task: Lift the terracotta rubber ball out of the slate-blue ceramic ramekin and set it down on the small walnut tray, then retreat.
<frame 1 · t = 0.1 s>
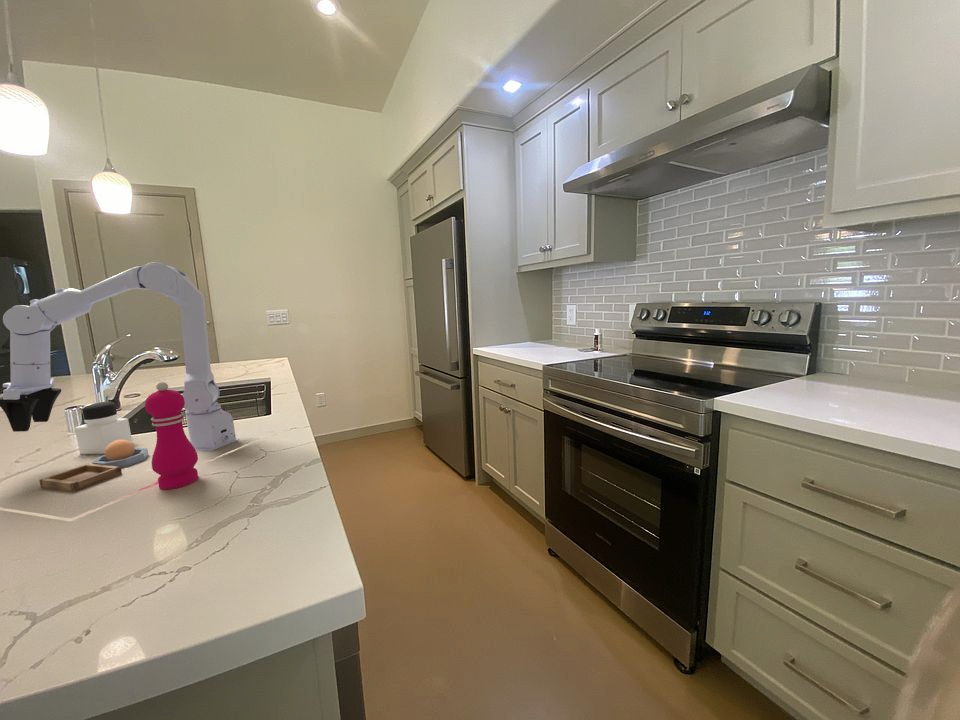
hand: (31, 426, 88), 11 cm above the counter, tool pointing down, fingers open, 7 cm apart
pepper mill: (179, 483, 80), on the counter
tray: (83, 482, 83), on the counter
ramekin: (122, 463, 92), on the counter
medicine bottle: (107, 450, 102), on the counter
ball: (122, 461, 92), resting on ramekin
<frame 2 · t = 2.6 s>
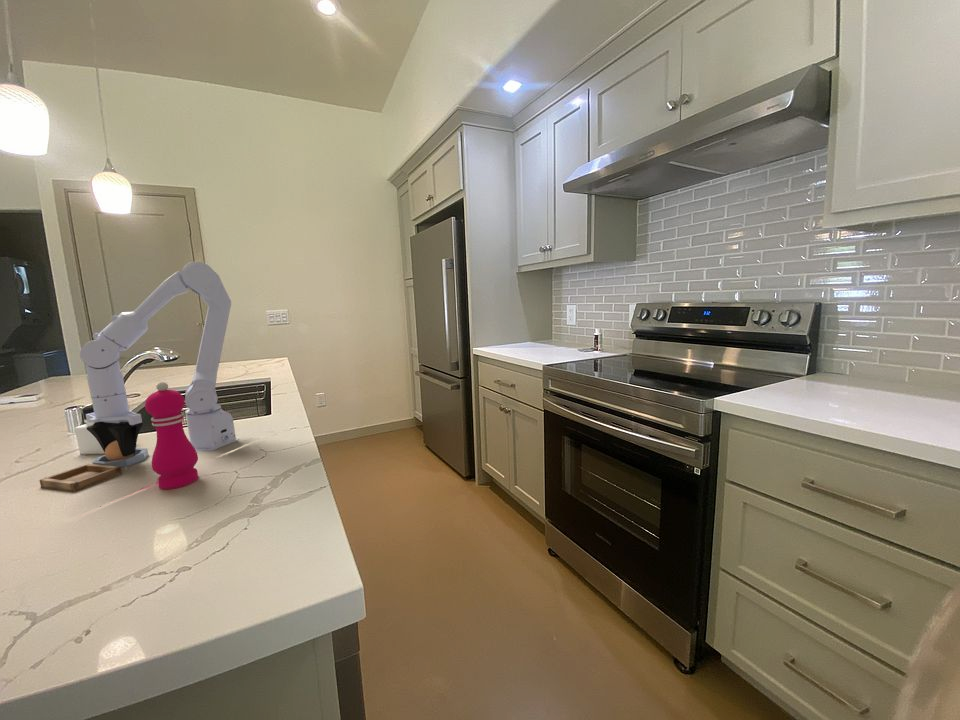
hand: (120, 453, 92), 2 cm above the counter, tool pointing down, fingers closed on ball, 5 cm apart
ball: (122, 461, 92), resting on ramekin, touching gripper
everything else where it was.
when the fingers open (3 cm above the counter, at t = 6.1 s): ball stays where it is, resting on tray.
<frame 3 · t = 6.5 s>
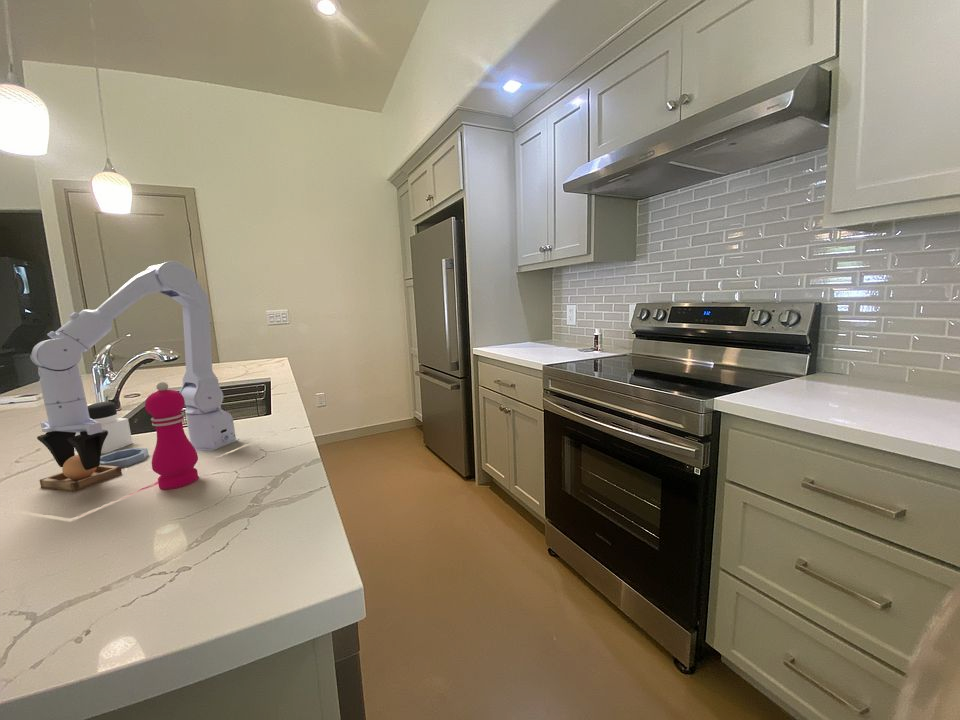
hand: (79, 466, 82), 3 cm above the counter, tool pointing down, fingers open, 7 cm apart
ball: (82, 478, 83), point 1 cm above the counter, touching tray
everything else where it was.
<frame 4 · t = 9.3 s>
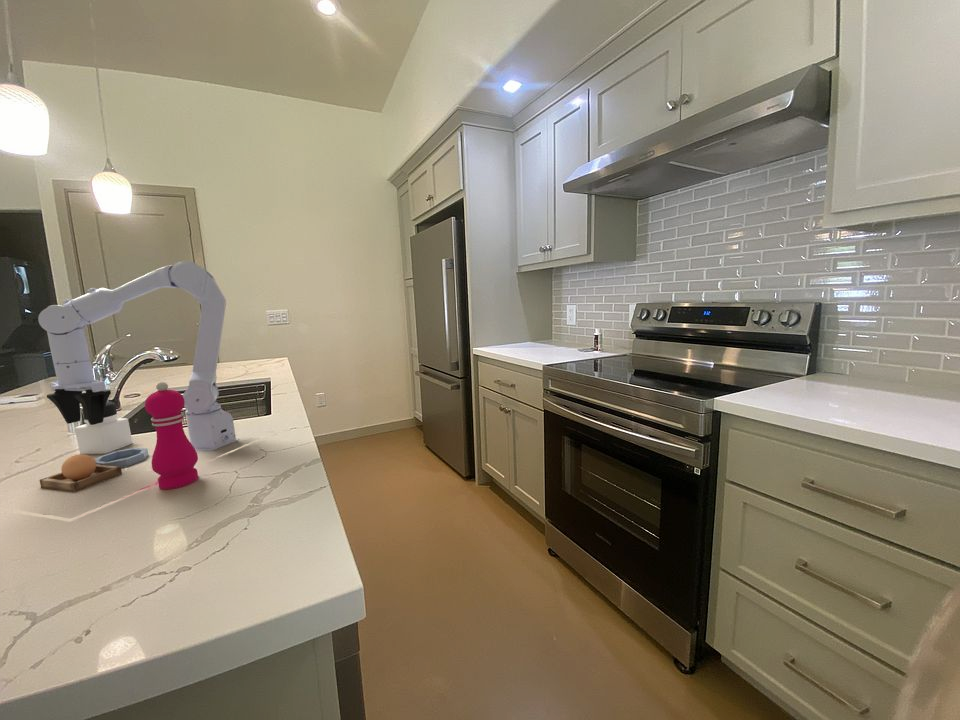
hand: (85, 422, 91), 10 cm above the counter, tool pointing down, fingers open, 7 cm apart
nothing on the counter moved.
at the end: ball inside the target area on the tray (0.1 cm from its centre), point 0.8 cm above the tray's base; the gripper is holding nothing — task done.
